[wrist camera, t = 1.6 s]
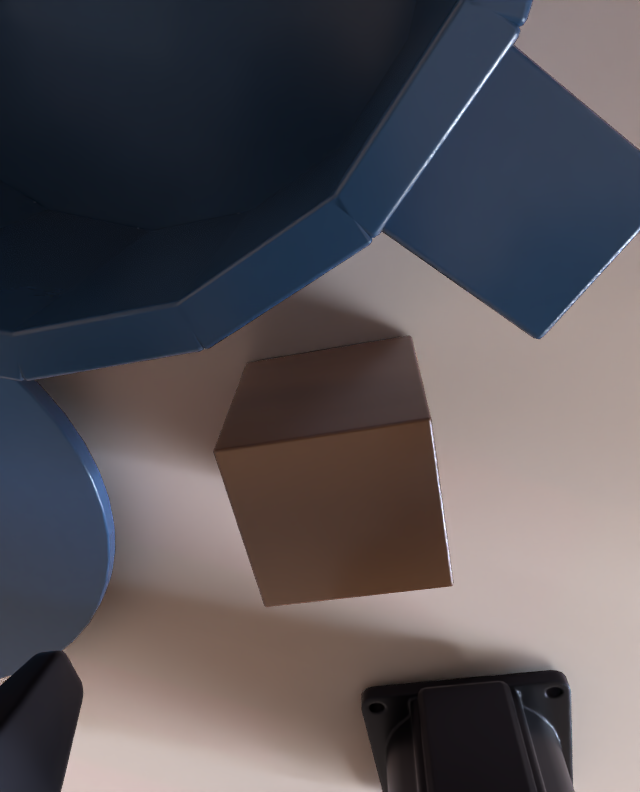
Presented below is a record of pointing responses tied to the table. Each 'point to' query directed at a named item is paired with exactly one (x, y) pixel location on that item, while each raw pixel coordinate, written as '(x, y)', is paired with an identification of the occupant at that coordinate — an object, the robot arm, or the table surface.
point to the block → (336, 474)
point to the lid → (47, 527)
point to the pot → (282, 167)
